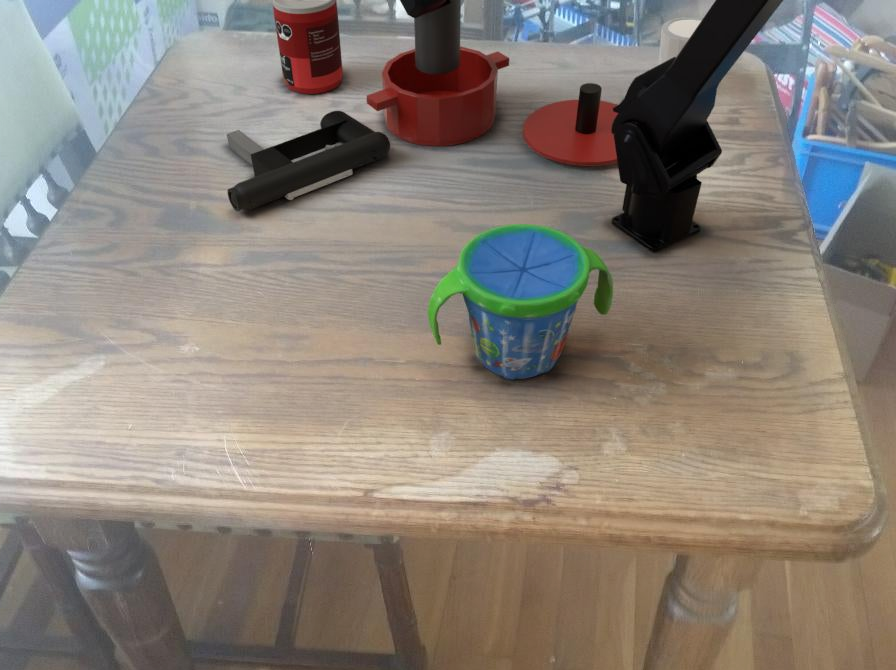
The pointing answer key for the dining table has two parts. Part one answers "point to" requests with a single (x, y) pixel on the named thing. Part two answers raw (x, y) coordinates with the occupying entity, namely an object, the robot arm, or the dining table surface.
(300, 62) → the red can
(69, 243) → the dining table surface
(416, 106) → the pot
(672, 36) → the off-white short cylinder
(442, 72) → the pepper mill
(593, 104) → the lid
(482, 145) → the dining table surface
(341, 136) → the door handle
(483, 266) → the snack cup
